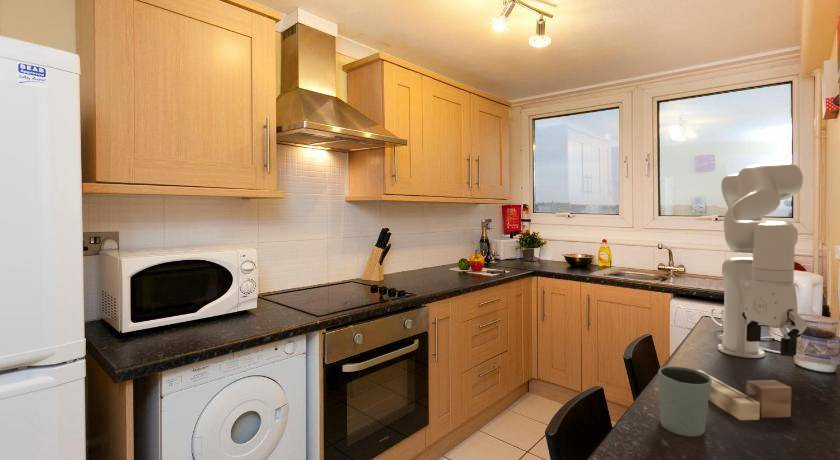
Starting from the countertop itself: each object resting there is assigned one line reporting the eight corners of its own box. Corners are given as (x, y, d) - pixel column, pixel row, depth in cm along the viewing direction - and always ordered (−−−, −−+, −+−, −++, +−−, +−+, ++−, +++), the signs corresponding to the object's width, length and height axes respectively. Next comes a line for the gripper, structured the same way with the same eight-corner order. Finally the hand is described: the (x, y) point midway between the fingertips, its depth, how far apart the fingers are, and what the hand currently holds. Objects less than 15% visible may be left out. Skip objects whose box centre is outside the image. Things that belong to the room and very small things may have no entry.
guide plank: (683, 384, 120) (684, 370, 120) (699, 384, 120) (700, 369, 120) (740, 420, 100) (740, 402, 100) (759, 419, 100) (759, 402, 100)
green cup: (662, 412, 105) (663, 362, 104) (713, 425, 98) (714, 372, 98) (653, 429, 97) (653, 376, 96) (707, 444, 90) (708, 387, 90)
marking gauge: (740, 409, 106) (740, 380, 105) (780, 407, 106) (780, 379, 106) (755, 418, 101) (755, 388, 101) (796, 416, 102) (797, 387, 101)
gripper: (729, 270, 110) (727, 337, 112) (789, 283, 93) (786, 362, 94) (757, 269, 111) (755, 336, 112) (823, 282, 93) (820, 360, 95)
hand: (770, 347), depth 103 cm, fingers open, 9 cm apart
